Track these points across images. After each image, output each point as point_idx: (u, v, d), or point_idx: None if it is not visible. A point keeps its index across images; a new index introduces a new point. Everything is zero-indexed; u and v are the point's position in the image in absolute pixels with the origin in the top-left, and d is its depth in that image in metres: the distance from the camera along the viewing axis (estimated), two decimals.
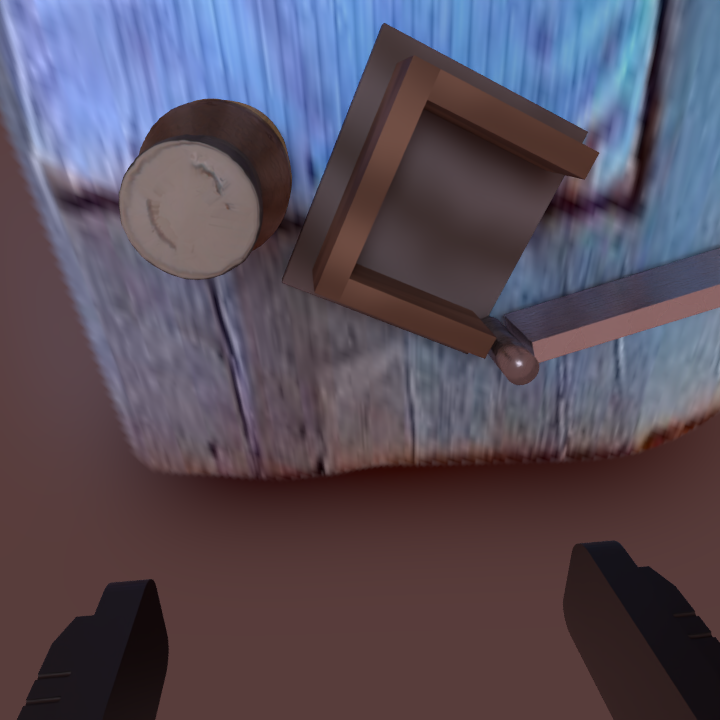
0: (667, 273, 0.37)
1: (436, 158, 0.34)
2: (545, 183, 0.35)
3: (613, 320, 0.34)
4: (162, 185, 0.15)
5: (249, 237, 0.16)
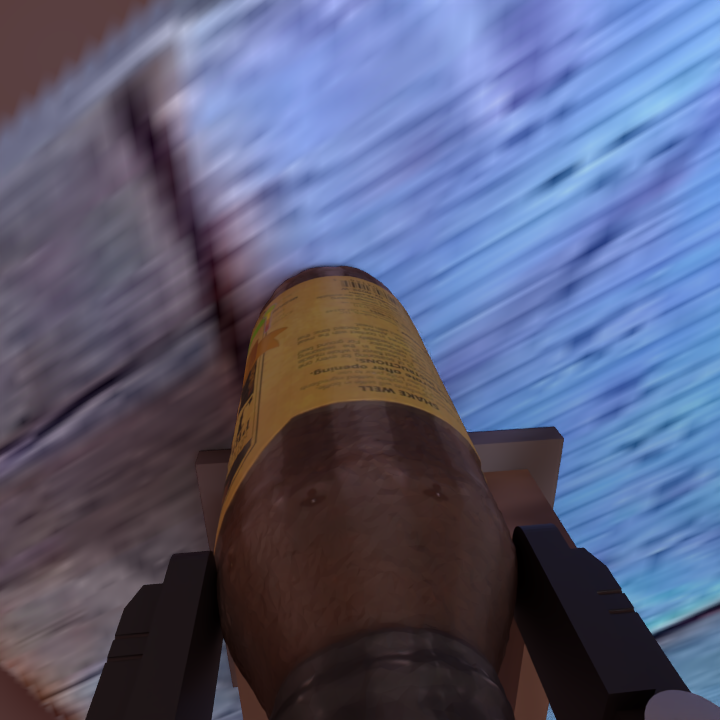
0: None
1: None
2: None
3: None
4: None
5: None
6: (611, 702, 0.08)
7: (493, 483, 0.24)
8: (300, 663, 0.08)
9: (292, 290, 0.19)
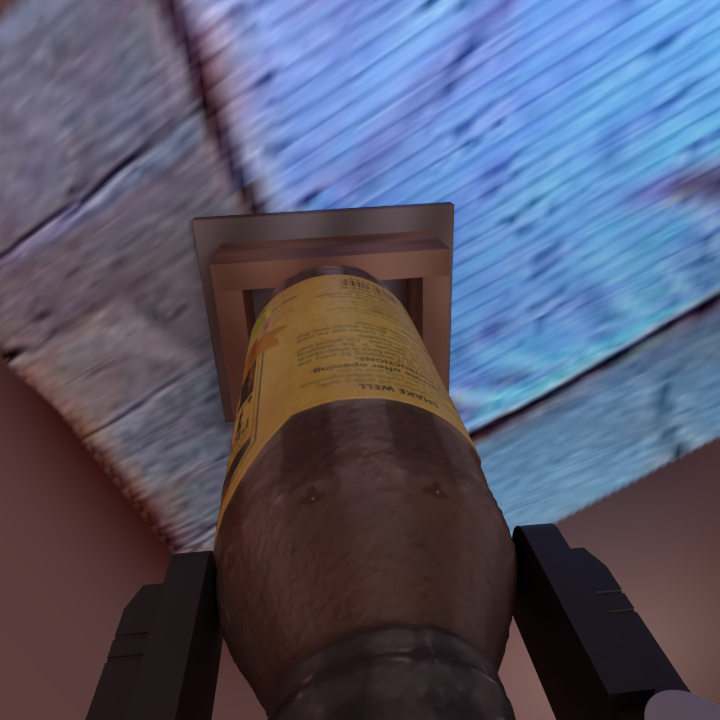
0: None
1: None
2: None
3: None
4: None
5: None
6: (611, 702, 0.08)
7: (403, 234, 0.34)
8: (299, 661, 0.08)
9: (292, 289, 0.19)
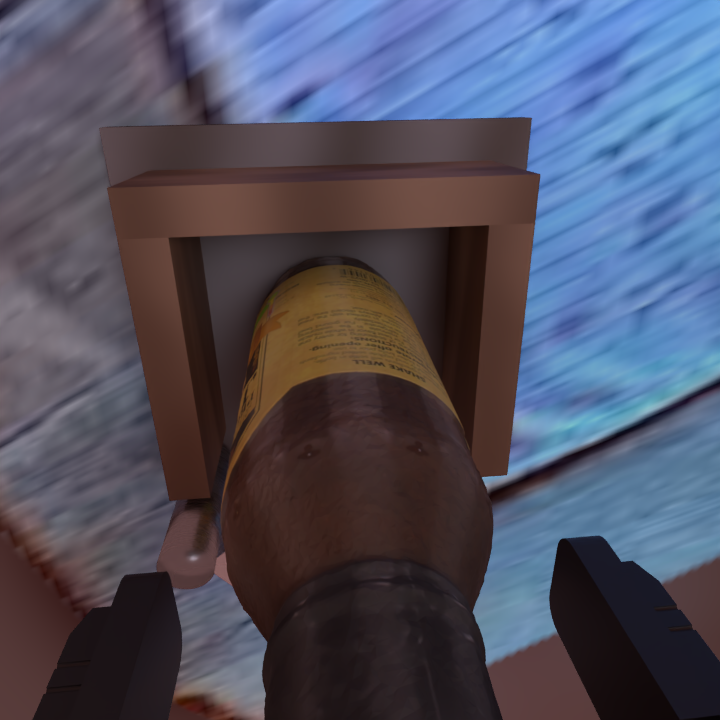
0: None
1: (396, 275, 0.23)
2: None
3: None
4: None
5: None
6: None
7: (449, 163, 0.21)
8: (296, 589, 0.09)
9: (294, 278, 0.20)
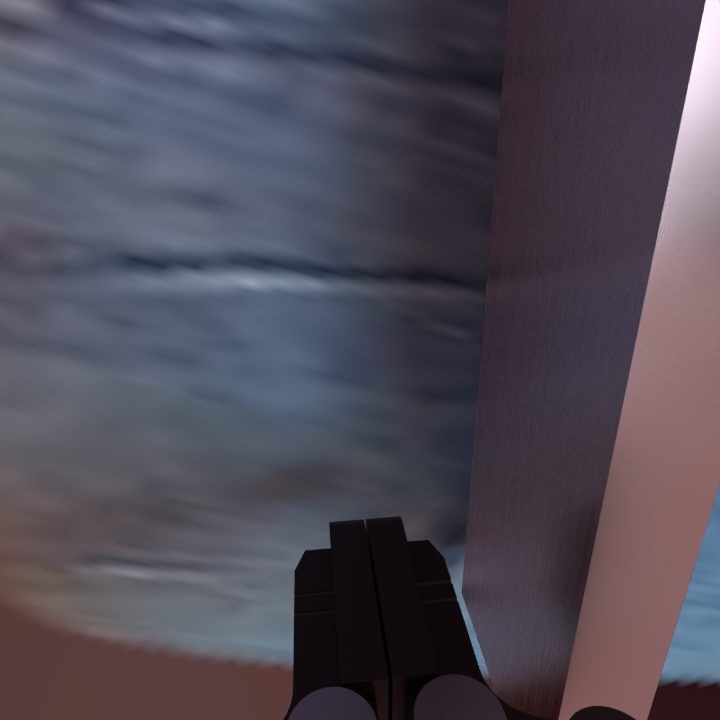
0: None
1: None
2: None
3: None
4: None
5: None
6: (398, 687, 0.08)
7: None
8: None
9: None
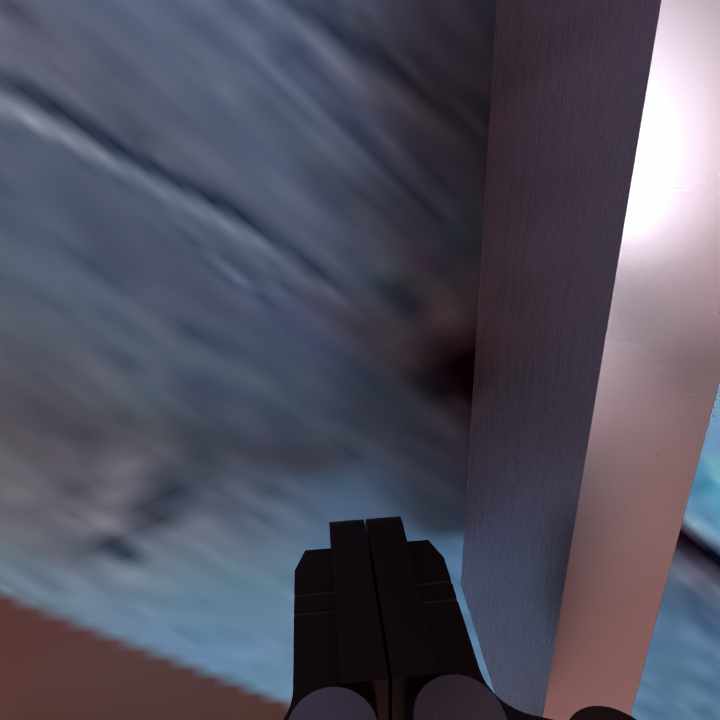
0: None
1: None
2: None
3: None
4: None
5: None
6: (398, 687, 0.08)
7: None
8: None
9: None
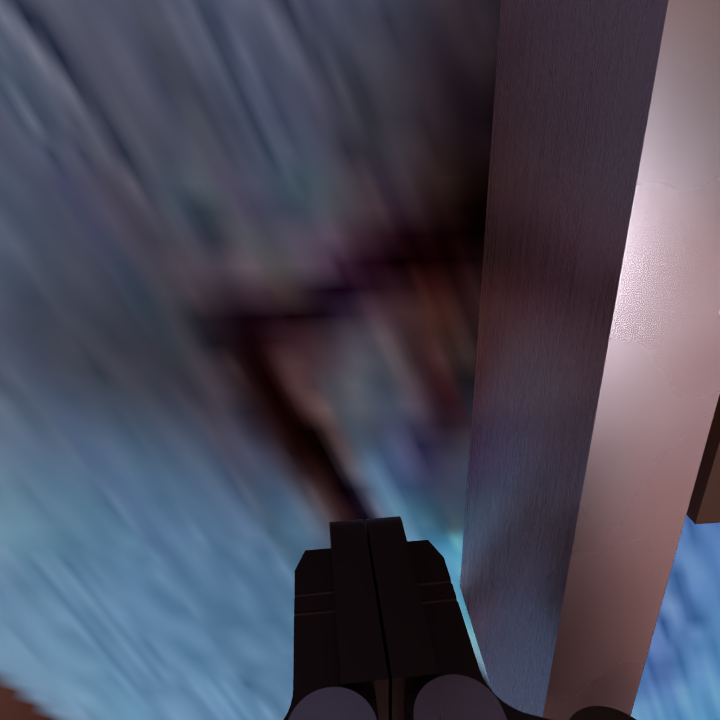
0: None
1: None
2: None
3: None
4: None
5: None
6: (398, 687, 0.08)
7: None
8: None
9: None
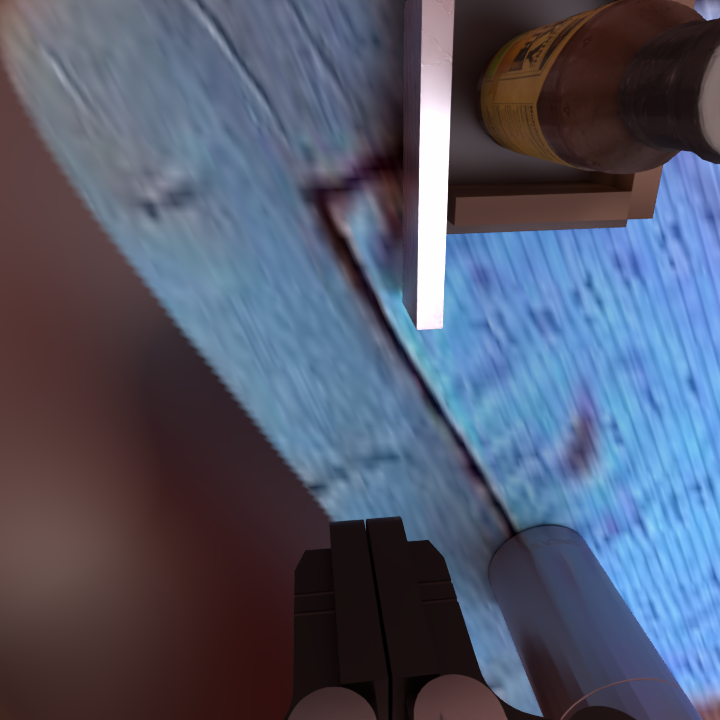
0: None
1: None
2: None
3: (445, 107, 0.27)
4: None
5: (709, 86, 0.14)
6: (398, 686, 0.08)
7: None
8: None
9: None
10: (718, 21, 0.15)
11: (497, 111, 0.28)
